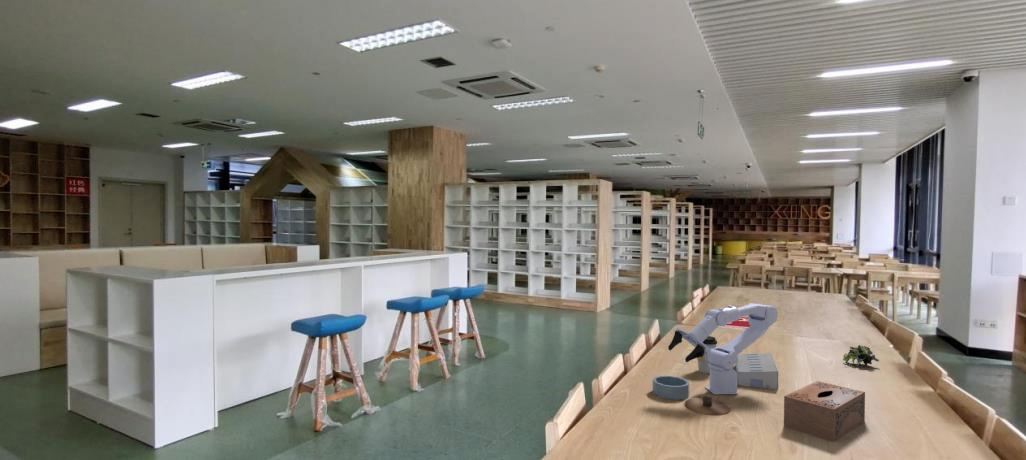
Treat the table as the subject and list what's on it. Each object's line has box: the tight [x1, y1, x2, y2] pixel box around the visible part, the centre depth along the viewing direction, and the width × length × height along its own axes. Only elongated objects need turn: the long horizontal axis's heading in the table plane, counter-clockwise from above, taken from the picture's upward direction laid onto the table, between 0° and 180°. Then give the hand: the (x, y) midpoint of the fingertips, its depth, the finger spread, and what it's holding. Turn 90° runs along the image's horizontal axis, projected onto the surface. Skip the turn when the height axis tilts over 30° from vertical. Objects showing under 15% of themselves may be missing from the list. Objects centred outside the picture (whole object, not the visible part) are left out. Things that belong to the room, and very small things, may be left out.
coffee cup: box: [696, 335, 718, 374], centre depth 220 cm, size 9×9×15 cm
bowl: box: [652, 375, 690, 401], centre depth 191 cm, size 13×13×5 cm
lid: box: [684, 394, 731, 416], centre depth 178 cm, size 15×15×4 cm
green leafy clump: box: [842, 344, 880, 368], centre depth 231 cm, size 11×11×12 cm
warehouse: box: [734, 352, 779, 391], centre depth 213 cm, size 30×14×8 cm, turn 158°
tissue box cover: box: [783, 380, 866, 443], centre depth 163 cm, size 26×14×10 cm, turn 128°
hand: (677, 354), depth 185 cm, fingers open, 7 cm apart
